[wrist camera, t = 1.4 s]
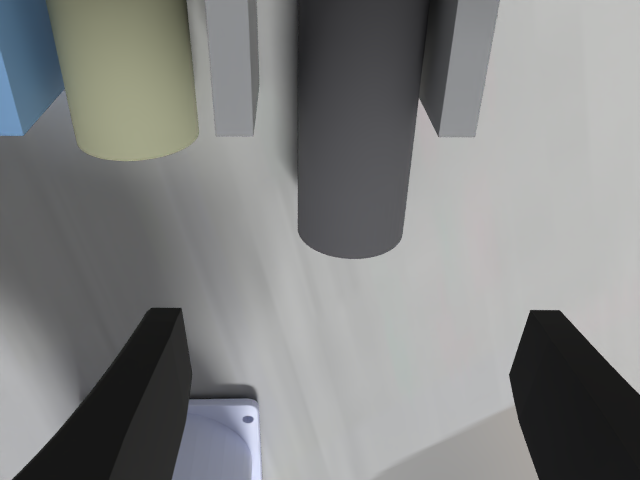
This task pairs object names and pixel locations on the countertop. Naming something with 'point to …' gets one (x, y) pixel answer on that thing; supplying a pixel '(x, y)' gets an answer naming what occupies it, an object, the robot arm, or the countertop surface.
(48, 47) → the rectangular blocks
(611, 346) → the countertop surface
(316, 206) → the dark grey cylinder
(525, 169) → the countertop surface
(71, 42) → the olive yellow cylinder
